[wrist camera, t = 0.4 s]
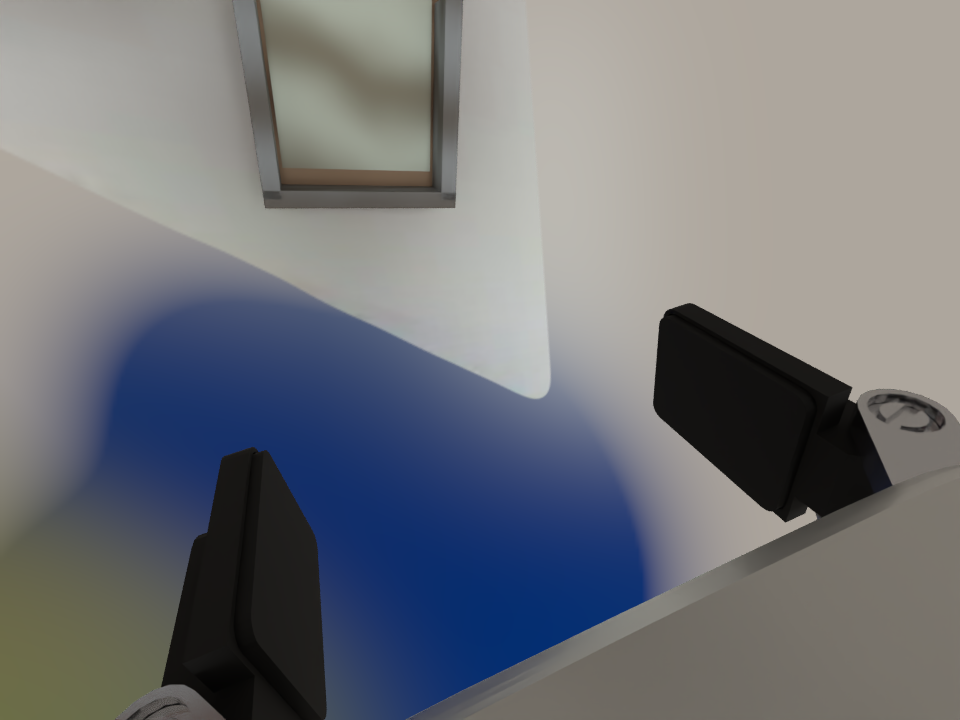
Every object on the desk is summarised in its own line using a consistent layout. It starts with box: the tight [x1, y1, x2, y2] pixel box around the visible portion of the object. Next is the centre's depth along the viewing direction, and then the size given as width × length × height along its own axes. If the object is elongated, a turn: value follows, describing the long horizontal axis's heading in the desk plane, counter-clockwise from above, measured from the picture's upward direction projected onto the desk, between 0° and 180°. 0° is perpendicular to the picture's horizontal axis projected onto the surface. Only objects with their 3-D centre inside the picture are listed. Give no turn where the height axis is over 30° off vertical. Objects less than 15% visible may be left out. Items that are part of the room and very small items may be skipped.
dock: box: [233, 0, 463, 208], centre depth 29 cm, size 14×12×6 cm
